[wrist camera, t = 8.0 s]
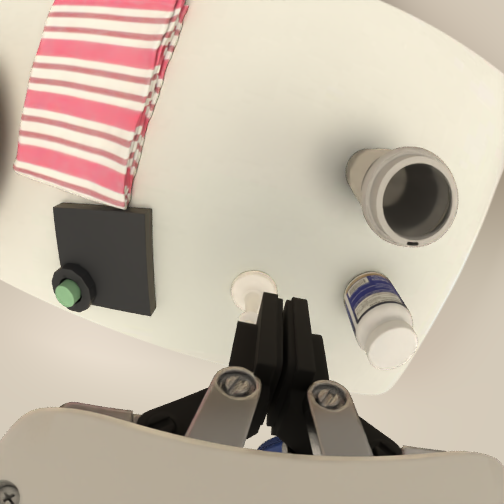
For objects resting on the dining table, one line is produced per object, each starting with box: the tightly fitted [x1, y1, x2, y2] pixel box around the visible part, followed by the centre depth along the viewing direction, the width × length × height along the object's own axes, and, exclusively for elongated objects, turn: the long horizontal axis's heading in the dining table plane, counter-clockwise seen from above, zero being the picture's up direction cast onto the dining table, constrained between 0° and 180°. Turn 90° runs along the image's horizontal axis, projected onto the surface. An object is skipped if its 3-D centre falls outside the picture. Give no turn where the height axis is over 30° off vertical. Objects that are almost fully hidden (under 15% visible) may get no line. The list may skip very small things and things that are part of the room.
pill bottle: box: [344, 272, 418, 370], centre depth 28 cm, size 6×6×10 cm
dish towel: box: [13, 0, 189, 210], centre depth 25 cm, size 17×23×4 cm
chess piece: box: [231, 271, 277, 324], centre depth 29 cm, size 5×5×10 cm
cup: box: [346, 147, 458, 247], centre depth 22 cm, size 7×7×12 cm
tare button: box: [55, 279, 81, 307], centre depth 31 cm, size 3×3×2 cm
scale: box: [52, 203, 156, 316], centre depth 32 cm, size 12×13×4 cm
